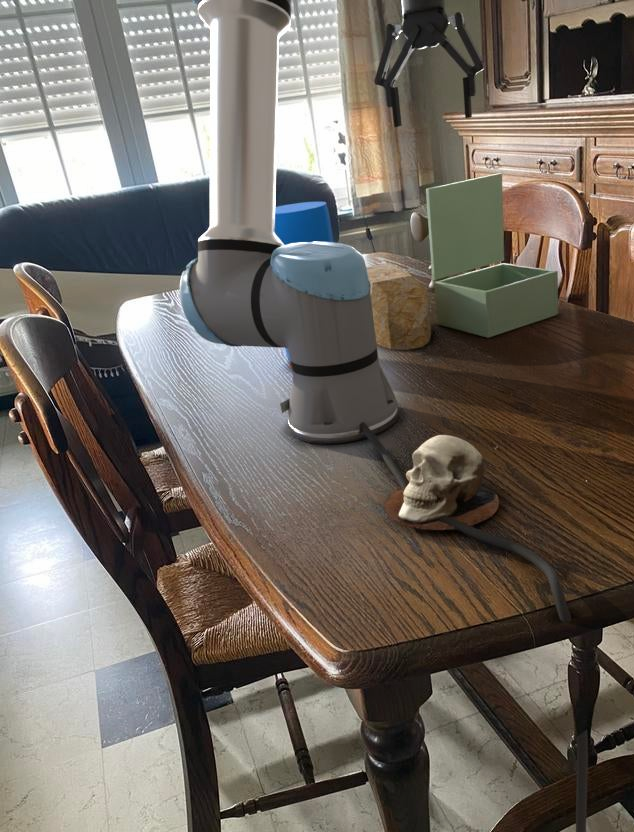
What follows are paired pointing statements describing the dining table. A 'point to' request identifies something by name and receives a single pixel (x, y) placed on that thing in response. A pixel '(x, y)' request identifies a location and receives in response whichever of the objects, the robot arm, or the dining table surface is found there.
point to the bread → (399, 308)
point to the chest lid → (465, 225)
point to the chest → (496, 299)
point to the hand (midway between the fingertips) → (432, 122)
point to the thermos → (303, 225)
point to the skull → (443, 487)
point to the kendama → (422, 235)
